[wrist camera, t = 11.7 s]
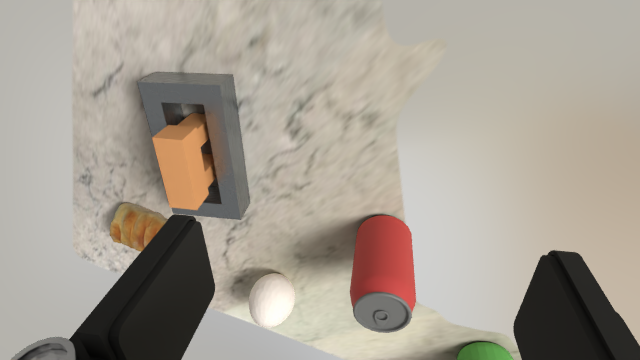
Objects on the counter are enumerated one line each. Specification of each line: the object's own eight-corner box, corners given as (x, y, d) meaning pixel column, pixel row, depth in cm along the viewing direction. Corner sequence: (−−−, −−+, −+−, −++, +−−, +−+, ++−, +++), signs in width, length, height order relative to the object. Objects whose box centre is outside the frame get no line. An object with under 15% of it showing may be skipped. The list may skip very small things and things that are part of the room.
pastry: (189, 218, 50) (175, 236, 47) (186, 252, 54) (173, 271, 50) (122, 196, 50) (103, 214, 47) (123, 232, 53) (106, 250, 50)
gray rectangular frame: (156, 71, 39) (137, 81, 36) (233, 74, 38) (219, 85, 35) (186, 197, 48) (173, 213, 45) (250, 202, 46) (240, 219, 43)
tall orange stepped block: (188, 108, 41) (152, 137, 35) (214, 110, 40) (182, 140, 34) (200, 171, 45) (169, 207, 39) (224, 173, 45) (197, 210, 38)
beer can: (355, 251, 48) (346, 331, 38) (358, 209, 44) (348, 286, 34) (408, 256, 47) (412, 340, 37) (414, 214, 43) (421, 295, 33)
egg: (284, 299, 55) (270, 345, 49) (250, 278, 54) (231, 322, 47) (308, 279, 52) (296, 325, 46) (272, 256, 51) (255, 300, 44)
